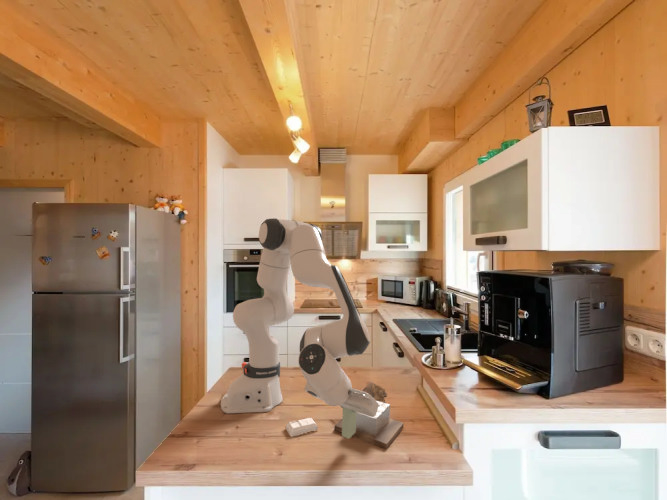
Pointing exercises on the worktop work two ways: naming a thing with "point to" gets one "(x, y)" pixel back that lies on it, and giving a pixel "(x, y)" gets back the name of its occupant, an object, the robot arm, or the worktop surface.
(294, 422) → the soap bar
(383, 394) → the wooden fragment
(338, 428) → the walnut board
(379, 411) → the grey slotted block
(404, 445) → the worktop surface
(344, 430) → the sage slat
